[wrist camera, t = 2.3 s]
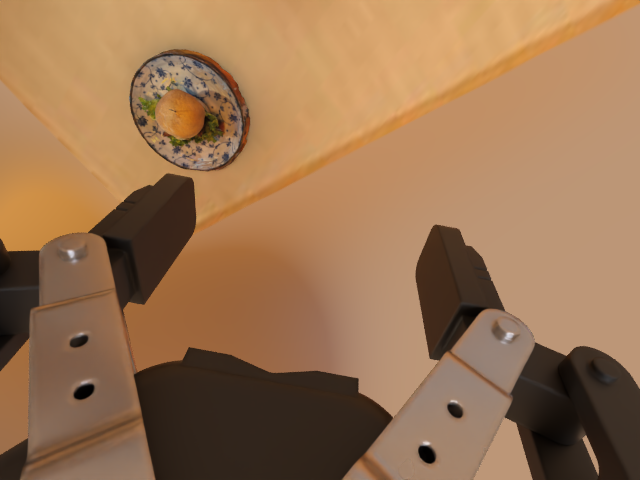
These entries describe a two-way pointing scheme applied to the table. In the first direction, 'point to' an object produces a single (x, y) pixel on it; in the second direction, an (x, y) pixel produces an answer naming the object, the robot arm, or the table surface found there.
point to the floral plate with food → (189, 110)
